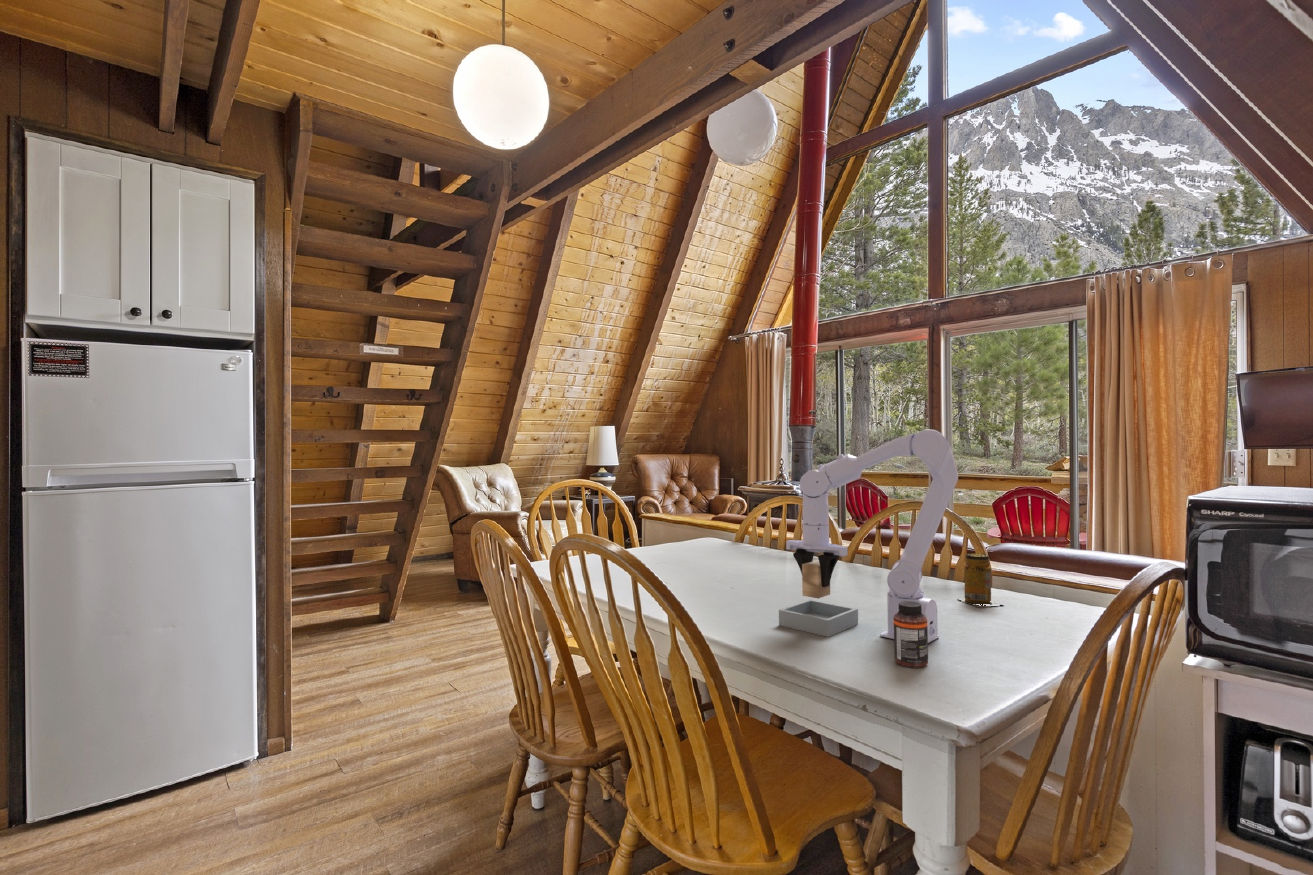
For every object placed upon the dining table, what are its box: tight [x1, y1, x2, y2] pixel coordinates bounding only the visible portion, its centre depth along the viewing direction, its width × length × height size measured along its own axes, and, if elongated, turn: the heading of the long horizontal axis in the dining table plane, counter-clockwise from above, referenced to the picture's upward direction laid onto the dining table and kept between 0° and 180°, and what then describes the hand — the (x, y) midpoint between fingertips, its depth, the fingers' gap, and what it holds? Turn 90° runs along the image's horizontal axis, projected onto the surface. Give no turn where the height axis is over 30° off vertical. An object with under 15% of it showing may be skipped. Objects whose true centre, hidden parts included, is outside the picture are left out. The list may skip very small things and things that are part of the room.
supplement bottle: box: [893, 601, 929, 669], centre depth 123 cm, size 6×6×11 cm
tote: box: [778, 599, 859, 638], centre depth 149 cm, size 13×13×4 cm
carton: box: [801, 560, 831, 600], centre depth 147 cm, size 4×5×7 cm
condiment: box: [961, 552, 1000, 608], centre depth 166 cm, size 7×8×12 cm
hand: (816, 584), depth 147 cm, fingers closed on carton, 4 cm apart
